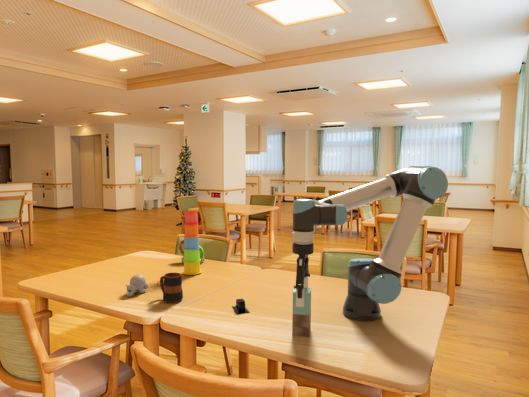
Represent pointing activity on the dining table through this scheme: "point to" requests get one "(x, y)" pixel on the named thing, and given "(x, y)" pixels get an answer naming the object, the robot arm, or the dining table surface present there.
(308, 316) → the walnut block
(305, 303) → the teal block
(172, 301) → the mug
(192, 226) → the stacking cups
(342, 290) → the dining table surface
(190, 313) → the dining table surface
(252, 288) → the dining table surface
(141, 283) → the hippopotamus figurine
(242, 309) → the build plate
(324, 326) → the dining table surface
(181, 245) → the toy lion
